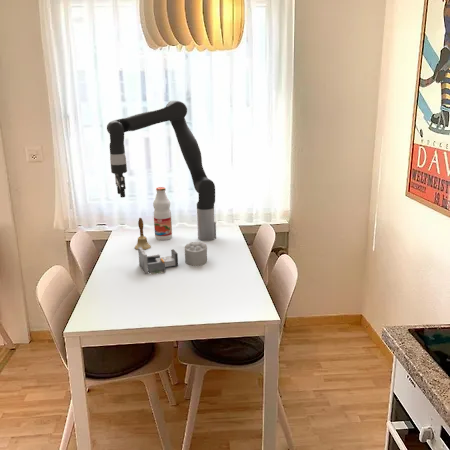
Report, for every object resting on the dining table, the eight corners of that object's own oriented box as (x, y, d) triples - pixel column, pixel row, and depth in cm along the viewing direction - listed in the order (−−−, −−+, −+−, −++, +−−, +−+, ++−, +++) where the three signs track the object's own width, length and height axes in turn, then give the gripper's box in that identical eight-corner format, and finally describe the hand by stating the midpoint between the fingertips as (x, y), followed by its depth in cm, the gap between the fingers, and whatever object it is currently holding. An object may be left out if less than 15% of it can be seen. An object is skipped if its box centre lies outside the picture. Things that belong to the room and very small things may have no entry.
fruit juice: (175, 236, 275) (172, 186, 267) (167, 241, 266) (164, 190, 258) (160, 234, 278) (157, 185, 270) (152, 239, 269) (148, 189, 261)
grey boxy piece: (174, 261, 236) (173, 249, 234) (180, 269, 226) (180, 256, 224) (155, 264, 232) (154, 252, 231) (161, 272, 223) (160, 259, 221)
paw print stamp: (207, 256, 242) (207, 239, 240) (206, 266, 230) (205, 248, 227) (186, 257, 242) (185, 240, 240) (184, 266, 230) (183, 249, 228)
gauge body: (159, 262, 236) (158, 244, 233) (166, 272, 224) (165, 253, 221) (139, 265, 233) (138, 247, 230) (145, 275, 221) (144, 256, 218)
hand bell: (149, 250, 253) (147, 220, 249) (133, 250, 254) (130, 220, 249) (152, 244, 261) (150, 215, 257) (136, 244, 261) (134, 215, 257)
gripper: (128, 164, 236) (131, 197, 240) (123, 160, 248) (126, 191, 253) (112, 165, 233) (116, 199, 238) (108, 161, 246) (111, 193, 251)
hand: (121, 195), depth 245 cm, fingers open, 8 cm apart
